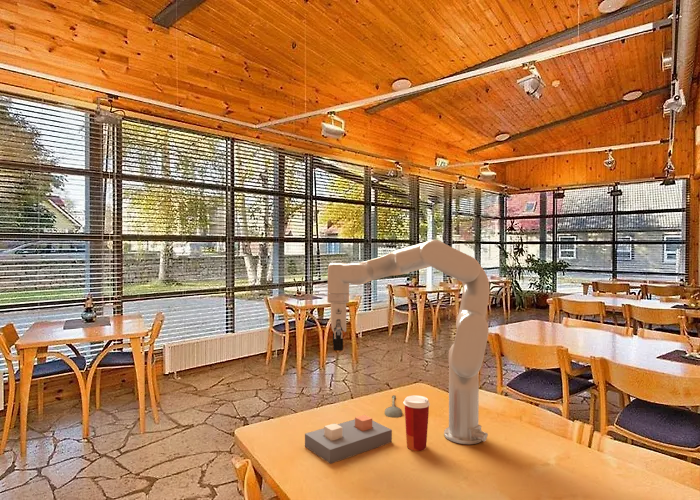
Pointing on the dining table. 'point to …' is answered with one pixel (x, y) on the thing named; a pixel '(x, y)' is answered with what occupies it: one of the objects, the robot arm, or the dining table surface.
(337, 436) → the cream cube block
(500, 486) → the dining table surface
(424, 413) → the coffee cup
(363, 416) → the peach square button
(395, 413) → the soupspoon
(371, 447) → the button panel
